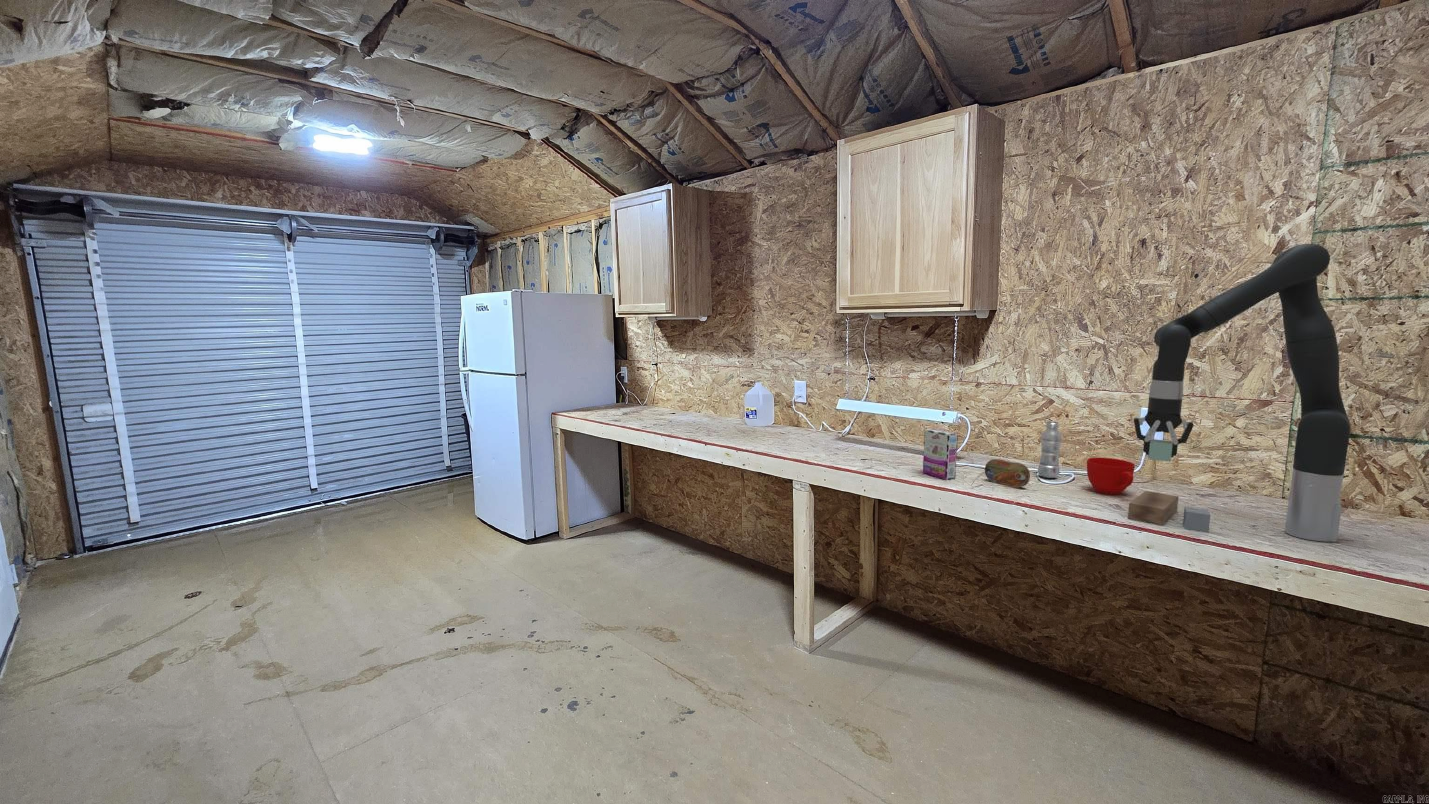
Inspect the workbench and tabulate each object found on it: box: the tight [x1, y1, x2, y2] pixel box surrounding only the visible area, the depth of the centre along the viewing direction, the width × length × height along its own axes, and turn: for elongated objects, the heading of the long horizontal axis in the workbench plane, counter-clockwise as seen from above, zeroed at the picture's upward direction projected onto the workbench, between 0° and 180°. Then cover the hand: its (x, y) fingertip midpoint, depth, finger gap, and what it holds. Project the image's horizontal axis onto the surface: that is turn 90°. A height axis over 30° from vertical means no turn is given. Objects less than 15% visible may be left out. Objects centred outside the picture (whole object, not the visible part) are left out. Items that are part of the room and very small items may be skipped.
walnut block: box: [1127, 490, 1180, 527], centre depth 172 cm, size 8×18×5 cm, turn 132°
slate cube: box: [1182, 506, 1211, 533], centre depth 162 cm, size 5×5×5 cm
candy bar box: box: [922, 428, 959, 481], centre depth 215 cm, size 11×5×16 cm, turn 27°
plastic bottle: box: [1037, 420, 1063, 479], centre depth 212 cm, size 6×7×20 cm
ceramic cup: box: [1086, 457, 1136, 496], centre depth 193 cm, size 13×17×10 cm
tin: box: [984, 458, 1031, 489], centre depth 204 cm, size 15×3×8 cm, turn 33°
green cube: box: [1147, 438, 1173, 462], centre depth 170 cm, size 5×5×5 cm
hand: (1159, 455), depth 170 cm, fingers closed on green cube, 5 cm apart
